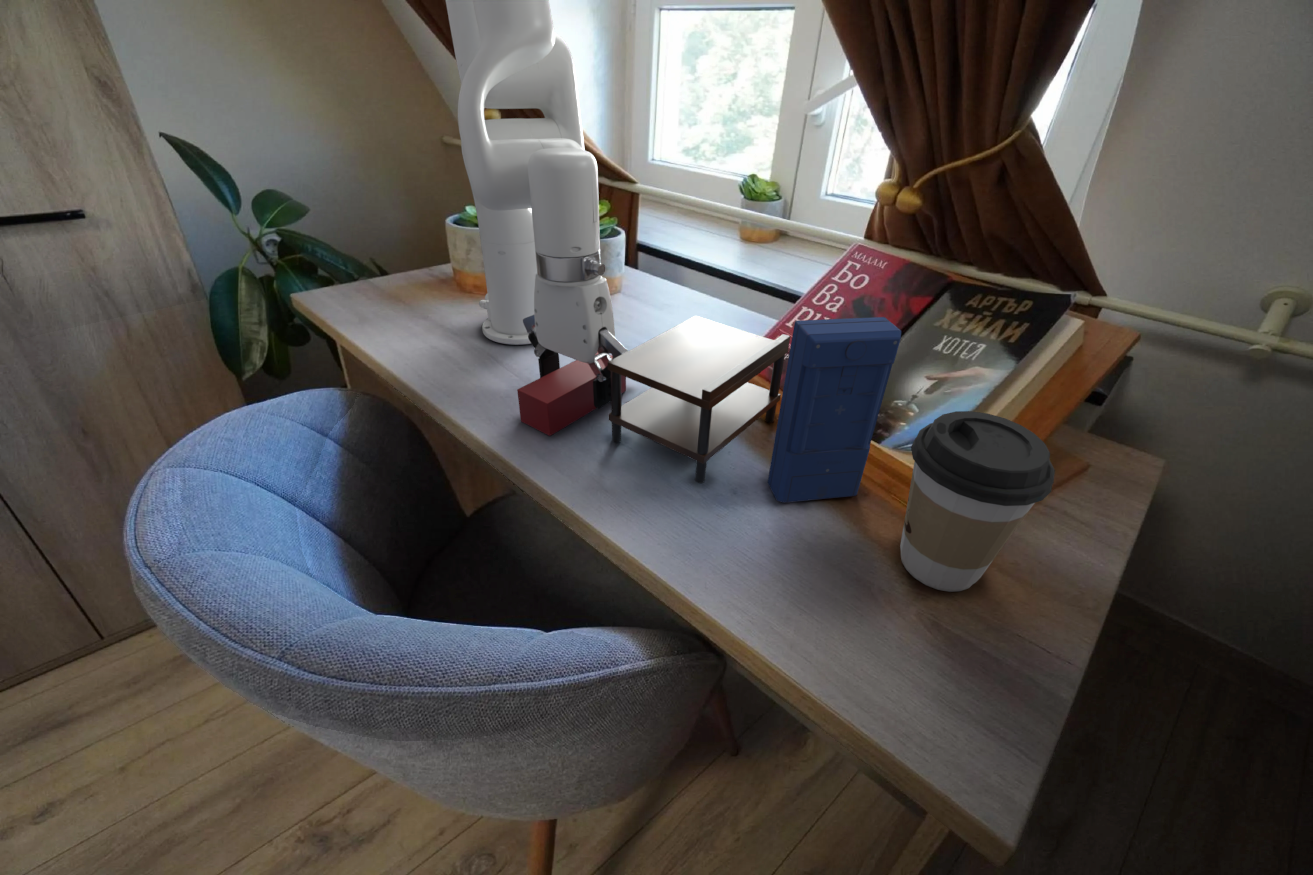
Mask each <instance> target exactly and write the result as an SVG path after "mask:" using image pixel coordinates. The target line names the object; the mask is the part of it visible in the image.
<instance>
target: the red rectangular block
mask: <svg viewBox="0 0 1313 875" xmlns="http://www.w3.org/2000/svg"><path fill="white" fill-rule="evenodd" d="M597 354H599V353H598V351H597ZM597 354H595V355H597ZM609 355H610V357H611V359H612V358H613V357H612V354H609ZM598 363H599V364H600V366H601V368H602V369H604V368H605V365H604V364H603V362H602V360H601V359H600V360H598ZM595 379H596V376H595V374H594V373H593V371H592V369H591V368H590V366H589V364H588V363H584V362H581V361H578V360H575V359H574V360H573V361H572V362H570V363H567V364H566V365H564V366H563V365H562V367H561V366H560V368H559V369H557V370H555V371H553V372H551V373H549V374H547V375H545V376H543V377H541V378H540V377H539V378H537V379H535V380H533V381H531V382H530V383H527V384H526V385H523V386H521V387H519V388H517V390H516V391H517V400H518V409H519V418H520V422H521V423H523V424H525V425H527V426H529V427H531V428H533V429H535V430H536V431H539V432H541V433H543V434H545V435H547V436H548V437H551V436H552V435H554V434H556V433H558V432H560V431H561V430H563V429H565V428H566V427H568V426H570V425H571V424H574V423H575V422H576V421H578V420H580V419H581V418H583V417H585V416H587V415H588V414H590V413H591V412H593V411H596V409H597V408H596V407H595V406H594V396H593V380H595ZM626 391H627V377H625V376H622V375H621V395H622V394H623V393H625V392H626Z"/></svg>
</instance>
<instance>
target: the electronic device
mask: <svg viewBox="0 0 1313 875" xmlns="http://www.w3.org/2000/svg"><path fill="white" fill-rule="evenodd" d="M901 338H902V330H901V329H900V328H898V327H897V326H896V325H895V324H894V323H893V322H891V321H890V320H889V319H888V318H886V317H885V316H874V317H851V318H828V319H827V318H826V319H805V320H804V319H803V320H801V319H800V320H795V321H794V324H793V330H792V336H791V340H790V342H791V343H790V346H789V352H788V353H789V354H788V359H787V366H786V371H785V377H784V383H783V390H782V394H781V399H780V407H779V413H778V418H777V422H776V423H777V425H776V430H775V434H774V435H775V436H774V440H773V441H774V442H773V448H772V454H771V459H770V464H769V471H768V477H767V484H768V487H769V488H770V490H771V492H772V494H773V496H774V498H775V500H776V501H777V502H781V503H794V502H803V501H805V502H807V501H815V500H826V499H828V500H829V499H836V498H838V499H839V498H847V497H848V498H849V497H857V495H858V492H859V490H860V486H861V483H862V482H861V481H862V479H863V475H864V472H865V469H866V464H867V461H868V457H869V454H870V449H871V442H872V440H873V439H872V438H873V436H874V432H875V428H876V425H877V421H878V417H879V414H880V410H881V407H882V404H883V400H884V396H885V393H886V389H887V385H888V382H889V379H890V375H891V371H892V368H893V365H894V364H895V361H896V357H897V354H898V351H899V347H900V343H901Z"/></svg>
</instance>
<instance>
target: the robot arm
mask: <svg viewBox="0 0 1313 875" xmlns="http://www.w3.org/2000/svg"><path fill="white" fill-rule="evenodd" d="M445 5H446V11H447V15H448V23H449V28H450V34H451V40H452V45H453V50H454V55H455V56H454V57H455V61H456V68H457V72H458V77H459V81H460V89H459V94H458V99H457V100H458V101H457V126H458V132H459V137H460V143H461V146H460V148H461V154H462V160H463V165H464V168H465V170H466V174H467V178H468V181H469V185H470V189H471V193H472V197H473V202H474V207H475V212H476V218H477V219H476V220H477V226H478V232H479V240H480V247H481V254H482V264H483V271H484V277H485V284H486V291H487V293H486V294H485V296H484V299H481V300H480V301H479V302H478V305H479V307H480V308H482V309H484V310H486V312H487V317H486V319H485V320H484V321H483V323H482V328H481V329H482V333H483V335H484V336H485V337H486V338H487V339H489V340H490V341H493V342H496V343H498V344H504V345H515V346H519V345H521V346H522V345H532V347H533V354H534V356H535V357H536V358H537V360H538V370H539V378H541V377H543V376H545V375H547V374H549V373H551V372H553V371H555V370H557V369H559V368H561V365H560V364H561V363H560V355H562V356H565V357H568V358H570V359H572V360H574V361H575V360H578V361H581V362H584V363H588V364H589V366H590V368H591V369H592V371H593V373H594V374H595V376H596V379H595V380H593V396H594V406H595V407H596V409H598V410H599V409H601V408H603V407H604V406H606V405H608V404H611V371H610V370H608V362H609V361H610V360H612V359H614V358H616V357H618V356H620V355H622V354H624V353H626V352H628V351H629V350H628V348H626V346H624V345H623V344H622V343H621V342H620V341H619V340H618V339H617V338H616V329H615V319H614V311H613V302H612V297H611V292H610V288H609V284H608V280H607V278H606V277H603V275H604V274H605V272H606V265H605V263H602V261H601V259H602V258H601V235H600V234H601V233H600V230H601V229H600V203H599V202H600V200H599V170H598V169H599V168H598V163H597V159H596V157H595V156H594V154H593V153H592V152H590V151H587V150H586V149H585V140H584V132H583V123H582V116H581V115H582V114H581V106H580V98H579V91H578V90H579V89H578V82H577V74H576V68H575V63H574V62H575V61H574V60H573V59H574V58H573V55H572V52H571V50H570V48H569V46H568V44H567V42H566V41H565V39H564V38H563V37H562V36H560V35H559V34H558V33H556V31H555V26H554V22H553V21H554V20H553V15H552V11H551V6H550V5H551V4H550V0H445ZM485 109H488V110H489V109H490V110H491V109H492V110H494V109H495V110H508V109H509V110H516V109H517V110H518V109H520V110H523V109H538V110H540V111H541V113H542V114H543V116H544V117H541V118H540V117H537V118H533V117H532V118H523V117H518V118H517V117H515V118H514V117H513V118H490V119H486V118H485ZM597 351H598V353H599V354H597ZM595 354H597V355H595ZM610 355H612V357H613V358H612V359H611V357H610ZM600 359H601V360H602V362H603V364H604V365H605V368H604V369H602V368H601V366H600V364H599V363H598V360H600Z"/></svg>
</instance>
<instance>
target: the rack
mask: <svg viewBox="0 0 1313 875" xmlns="http://www.w3.org/2000/svg"><path fill="white" fill-rule="evenodd" d="M790 342H791V336H790V335H788V334H784V333H782V334H781V335H780V336H779V337H777V338H776V339H772V338H767V337H765V336H761V335H758V334H755V333H752V332H749V331H746V330H743V329H740V328H737V327H734V326H730V325H727V324H723V323H721V322H717V321H714V320H711V319H708V318H704V317H702V316H699V315H694V316H692V317H690V318H688V319H686V320H685V321H683V322H682V321H681V323H679V324H676V325H675V326H673V327H671V328H669V329H667V330H665V331H663V332H662V333H660V334H658V335H656V336H654V337H651V338H650V339H649V340H647V341H645V342H643V343H641V344H639V345H637V346H635V347H633V348H632V349H629V350H628V352H626V353H624V354H622V355H620V356H618V357H616V358H614V359H612V360H610V361H609V362H608V370H610V371H611V402H610V406H611V407H610V408H611V409H610V410H611V411H610V412H609V413H608V421H609V422H611V441H612V443H615V444H618V443H621V442H622V428H624V429H626V430H628V431H631V432H632V433H635V434H637V435H639V436H641V437H644V438H646V439H648V440H650V441H652V442H654V443H656V444H659V445H662V446H664V447H665V448H667V449H670V450H672V451H674V452H677V453H679V454H681V455H683V456H685V457H688V458H689V459H692V460H693V461H695V471H694V472H695V474H694V481H695V482H696V483H698V484H703V483H705V481H706V477H707V467H708V461H709V460H710V459H712V458H713V457H714V456H716V454H717V453H719V452H720V451H721V450H723V449H724V448H725V447H726V446H727V445H728V444H730V443H731V442H732V441H733V440H734V439H736V438H737V437H738V436H739V435H740V434H741V433H743V432H744V431H745V430H746V429H748V428H749V427H750V426H751V425H752V424H754V423H755V422H756V421H757V420H759V418H761V417H762V416H763V415H765V416H764V421H765V422H766V423H769V424H771V423H774V422H775V417H776V413H777V412H776V411H777V405H778V403H779V402H781V397H782V394H781V393H779V392H780V387H781V381H782V376H783V375H782V374H783V369H784V363H785V356H786V354H788V353H789V349H790ZM771 365H773V366H772V372H771V378H770V385H769V389H767V388H765V387H762V386H760V385H756V384H755V383H754V384H753V383H751V382H749V381H751V380H752V379H754V378H756V376H758V375H759V374H760V373H762V372H763V371H764V370H766V369H768V368H769V367H770V366H771ZM621 375H622V376H625V377H626V379H627V378H628V379H630V380H632V381H635V382H637V383H640V384H641V385H645V386H646V387H650V388H648V389H646V390H645V391H643V392H641V393H640V394H638V395H637V396H635V397H633V398H631V399H630V400H628V401H627V402H625V403H623V404H622V394H621Z"/></svg>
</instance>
